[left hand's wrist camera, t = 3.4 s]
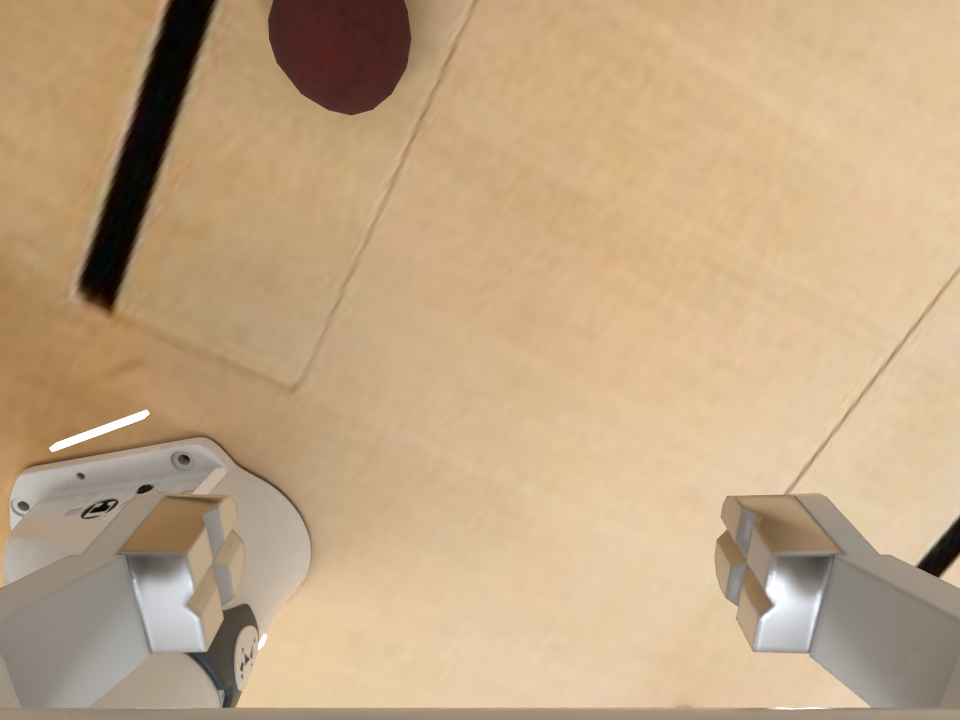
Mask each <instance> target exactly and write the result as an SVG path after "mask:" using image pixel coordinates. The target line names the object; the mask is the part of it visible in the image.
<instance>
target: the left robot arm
mask: <svg viewBox="0 0 960 720" xmlns="http://www.w3.org/2000/svg"><path fill="white" fill-rule="evenodd" d="M148 414H149V412H148V411H147V410H145V411H142V412H140V413H137V414H134V415H131V416H129V417H126V418H123V419H120V420H118V421H115V422H112V423H109V424H107V425H104V426H101V427H98V428H96V429H93V430H90V431H87V432H85V433H82V434H79V435H76V436H74V437H71V438H68V439H65V440H63V441H60V442H57V443H55V444H54V445H53V446H52V447H50V449H51V451H52V452H53V451H56V450H59V449H61V448H64V447H67V446H70V445H72V444H75V443H78V442H81V441H83V440H86V439H89V438H92V437H95V436H97V435H100V434H103V433H106V432H108V431H111V430H114V429H117V428H119V427H122V426H125V425H128V424H130V423H133V422H136V421H139V420H141V419H144V418H145V417H146V416H147V415H148ZM183 455H186V456H188V457H189V458H190V460H187V459H185V458H184V457H183ZM25 502H26V503H27V504H26V503H25ZM9 515H10V525H11V530H12V532H11V533H10V535H9V537H8V539H7V541H6V543H5V546H4V550H3V554H2V577H3V583H4V587H2V588H0V720H960V588H958V587H956V586H954V585H951V584H949V583H947V582H945V581H943V580H941V579H939V578H937V577H935V576H933V575H931V574H929V573H927V572H925V571H922V570H920V569H918V568H916V567H914V566H912V565H910V564H908V563H906V562H904V561H902V560H900V559H898V558H896V557H893V556H891V555H880V554H879V553H878V552H877V551H876V550H875V549H874V548H873V547H872V546H871V545H870V543H869V542H868V541H867V540H866V539H865V538H864V537H863V536H862V535H861V534H860V533H859V532H858V530H857V529H856V528H855V527H854V526H853V525H852V524H851V523H850V522H849V521H848V520H847V518H846V517H845V516H844V515H843V514H842V513H841V512H840V511H839V510H838V509H837V508H836V506H835V505H834V504H833V503H832V502H831V501H830V500H829V499H828V498H827V497H826V496H824V495H822V494H819V493H809V494H788V495H747V496H727V497H726V499H725V501H724V503H723V507H722V512H721V519H722V520H723V522H724V524H725V526H726V527H727V530H726V531H725V532H724V533H723V534H722V535H721V536H720V537H719V538H718V539H717V543H716V550H715V567H716V575H717V579H718V582H719V585H720V588H721V590H722V592H723V594H724V596H725V598H726V599H728V600H729V601H731V602H732V603H734V604H735V605H736V606H738V611H737V616H736V620H737V622H738V624H739V625H740V627H741V629H742V631H743V633H744V635H745V637H746V639H747V641H748V643H749V645H750V647H751V649H752V650H753V652H775V653H810V657H811V658H812V659H814V660H815V661H816V662H817V663H818V664H820V665H821V666H822V667H823V668H825V669H826V670H827V671H828V672H829V673H831V674H832V675H833V676H834V677H835V678H837V679H838V680H839V681H840V682H842V683H843V684H844V685H845V686H846V687H848V688H849V689H850V690H851V691H853V692H854V693H855V694H856V695H857V696H859V697H860V698H861V699H862V700H863V701H865V702H866V703H867V704H868V705H870V706H871V707H872V708H235V707H236V705H237V703H238V700H239V698H240V695H241V693H242V691H243V690H244V688H245V686H246V684H247V682H248V679H249V677H250V674H251V671H252V668H253V665H254V662H255V658H256V654H257V651H258V650H259V649H260V648H261V647H262V646H263V645H264V642H265V640H266V637H267V636H266V635H265V632H266V631H267V629H268V627H269V626H270V624H271V622H272V621H273V619H274V618H275V616H276V615H277V613H278V612H279V611H280V609H281V608H282V607H283V605H284V604H285V603H286V602H287V601H288V599H289V598H290V597H291V596H292V595H293V594H294V593H295V592H296V591H297V590H298V589H299V587H300V586H301V585H302V583H303V581H304V580H305V578H306V575H307V573H308V570H309V567H310V562H311V544H310V538H309V534H308V531H307V529H306V526H305V524H304V522H303V520H302V518H301V516H300V515H299V513H298V512H297V510H296V509H295V508H294V506H293V505H292V504H291V503H290V502H289V500H288V499H287V498H286V497H285V496H284V495H282V494H281V493H280V492H279V491H278V490H277V489H275V488H274V487H273V486H271V485H270V484H268V483H267V482H265V481H263V480H262V479H260V478H258V477H256V476H254V475H252V474H250V473H249V472H247V471H245V470H243V469H242V468H240V467H239V466H238V465H236V464H235V463H234V461H233V460H232V459H231V458H230V457H229V456H228V455H227V454H226V453H225V451H224V450H223V449H222V448H221V447H220V446H218V445H217V444H216V443H215V442H213V441H212V440H210V439H208V438H204V437H195V438H190V439H184V440H178V441H173V442H167V443H161V444H156V445H150V446H145V447H139V448H133V449H128V450H122V451H117V452H111V453H105V454H100V455H94V456H88V457H83V458H77V459H72V460H66V461H60V462H55V463H49V464H44V465H38V466H33V467H30V468H27V469H25V470H24V471H23V472H22V473H21V474H20V475H19V476H18V477H17V479H16V481H15V483H14V485H13V488H12V491H11V496H10V504H9Z"/></svg>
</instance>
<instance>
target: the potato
mask: <svg viewBox="0 0 960 720" xmlns="http://www.w3.org/2000/svg"><path fill="white" fill-rule="evenodd" d="M268 23H269V40H270V43H271V46H272V49H273V53H274V56H275V59H276V62H277V63H278V65H279V66H280V67H281V69H282V70H283V71H284V72H285V74H286V75H287V76H288V78H289V79H290V80H291V81H292V83H293V84H294V85H295V86H296V88H297V89H298V90H299V92H300V93H301V94H302V95H304V96H306V97H307V98H309V99H311V100H312V101H314V102H316V103H317V104H319V105H321V106H322V107H324V108H326V109H328V110H330V111H334V112H339V113H344V114H348V115H355V114H358V113H362V112H366V111H369V110H373V109H374V108H375V107H376V106H377V105H379V104H380V103H381V102H382V101H383V100H385V99H386V98H387V97H388V96H390V95H391V94H392V92H393V90H394V89H395V87H396V85H397V83H398V82H399V80H400V78H401V76H402V75H403V73H404V71H405V69H406V67H407V62H408V55H409V49H410V43H411V33H410V26H409V19H408V10H407V8H406V5H405V2H404V0H273V4H272V7H271V11H270V15H269V19H268Z"/></svg>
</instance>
